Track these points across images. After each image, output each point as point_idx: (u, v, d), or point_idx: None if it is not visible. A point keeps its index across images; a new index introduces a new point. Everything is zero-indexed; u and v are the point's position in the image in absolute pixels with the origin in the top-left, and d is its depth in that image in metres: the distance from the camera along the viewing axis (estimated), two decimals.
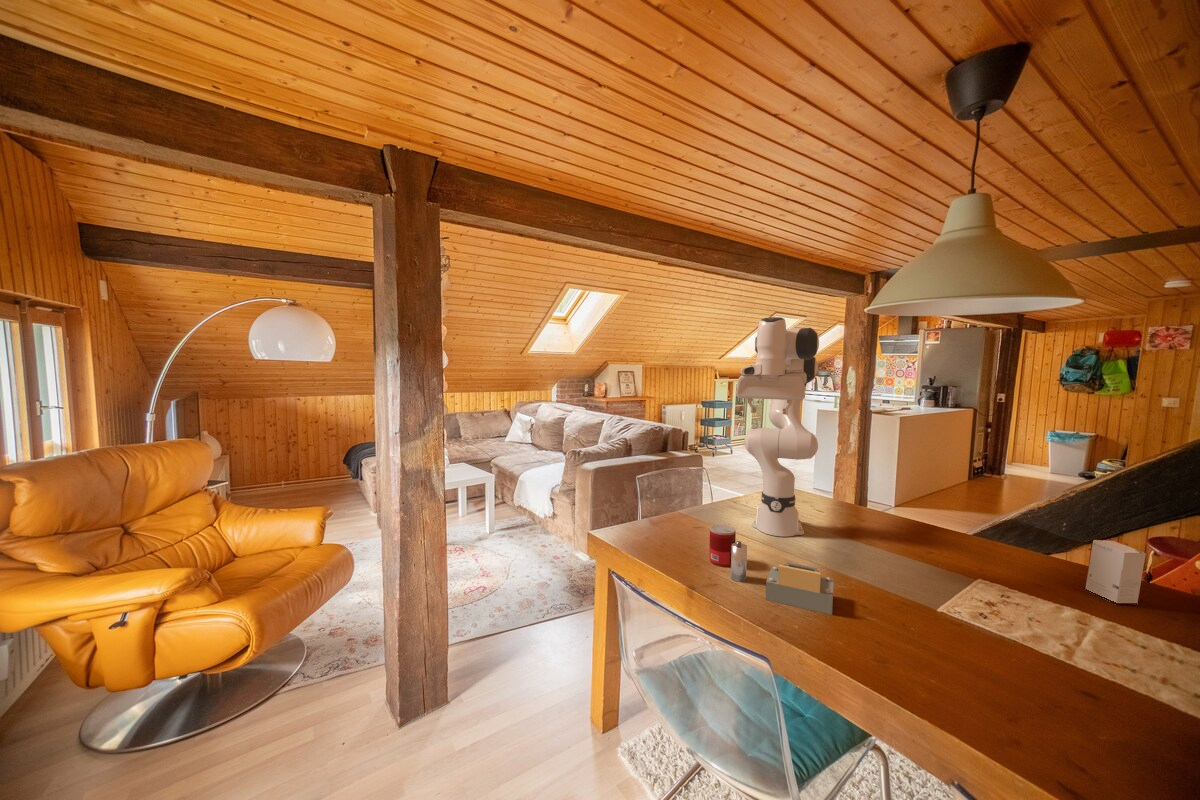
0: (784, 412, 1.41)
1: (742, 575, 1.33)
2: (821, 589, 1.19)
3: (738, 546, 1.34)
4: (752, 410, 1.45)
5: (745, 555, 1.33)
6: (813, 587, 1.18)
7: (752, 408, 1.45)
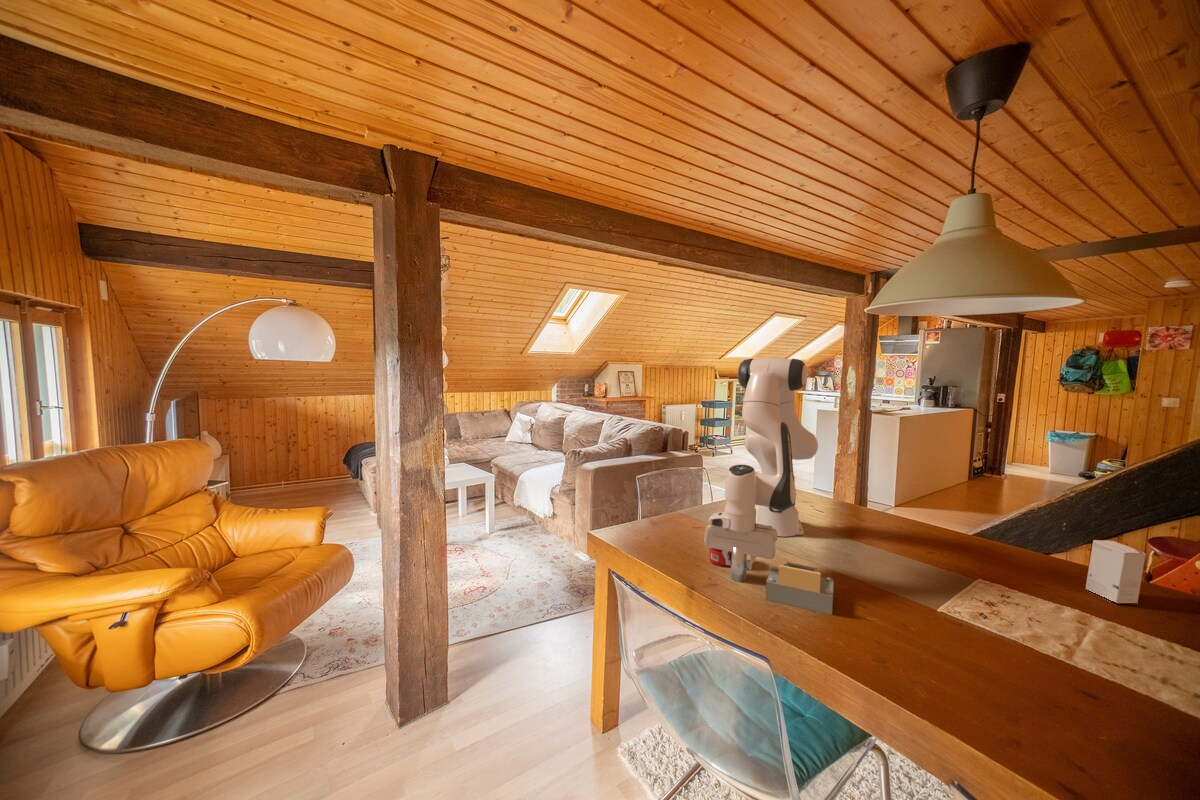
0: (747, 567, 1.33)
1: (742, 575, 1.33)
2: (821, 589, 1.19)
3: None
4: (727, 562, 1.36)
5: (745, 555, 1.33)
6: (813, 587, 1.18)
7: (727, 560, 1.36)
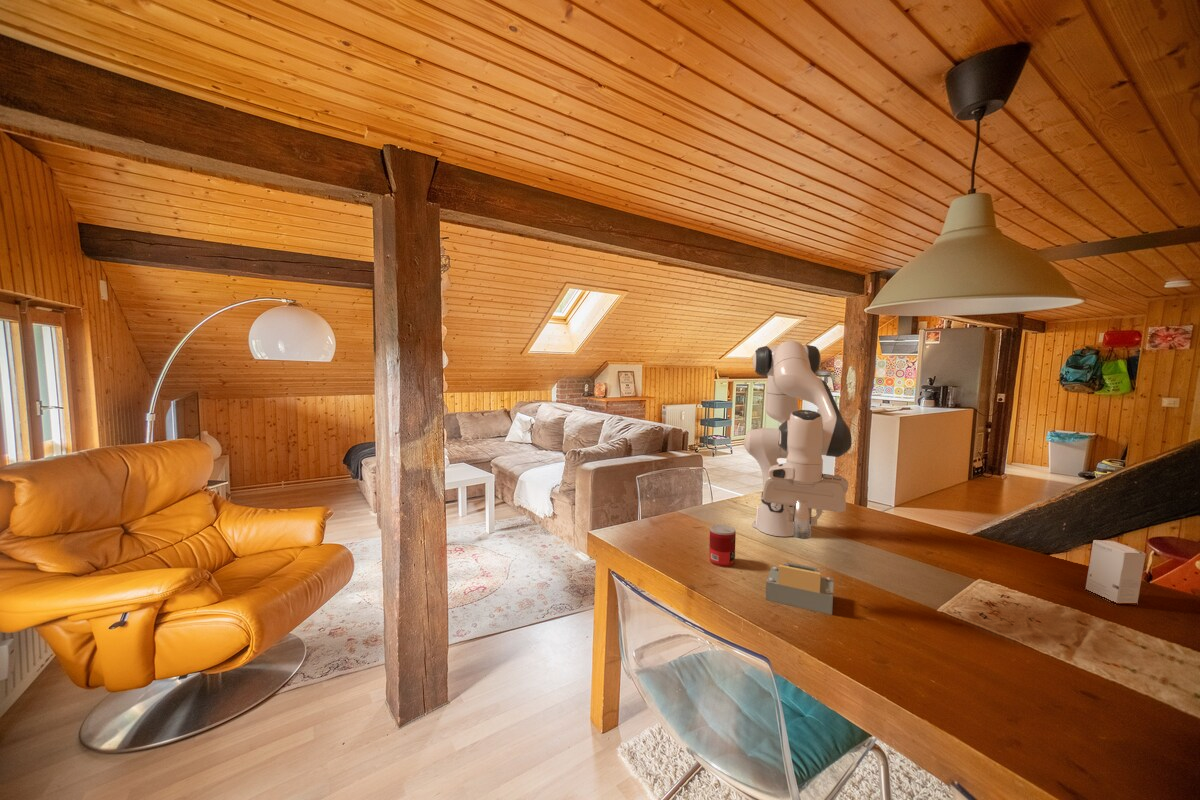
0: (813, 523, 1.20)
1: (807, 531, 1.20)
2: (821, 589, 1.19)
3: None
4: (789, 518, 1.23)
5: (810, 509, 1.20)
6: (813, 587, 1.18)
7: (789, 516, 1.23)
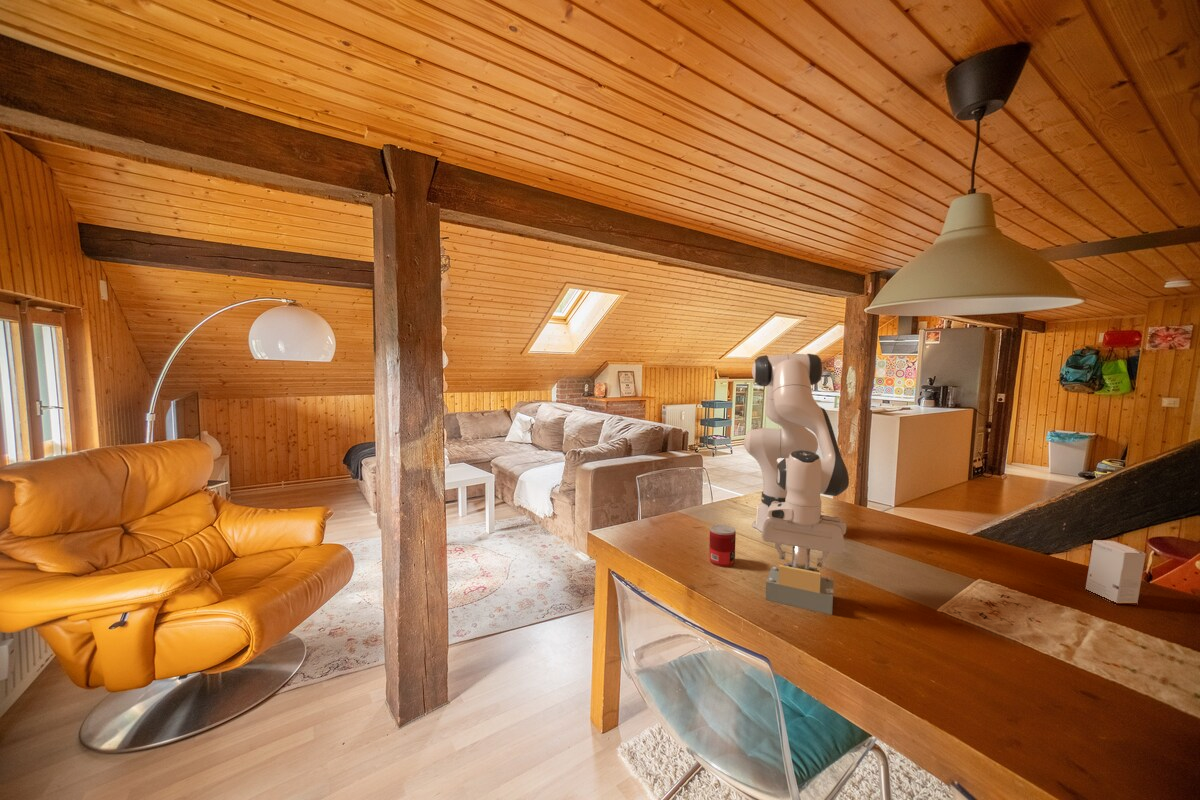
0: (819, 564, 1.21)
1: None
2: (821, 589, 1.19)
3: None
4: (781, 557, 1.25)
5: (809, 555, 1.22)
6: (813, 587, 1.18)
7: (781, 554, 1.25)
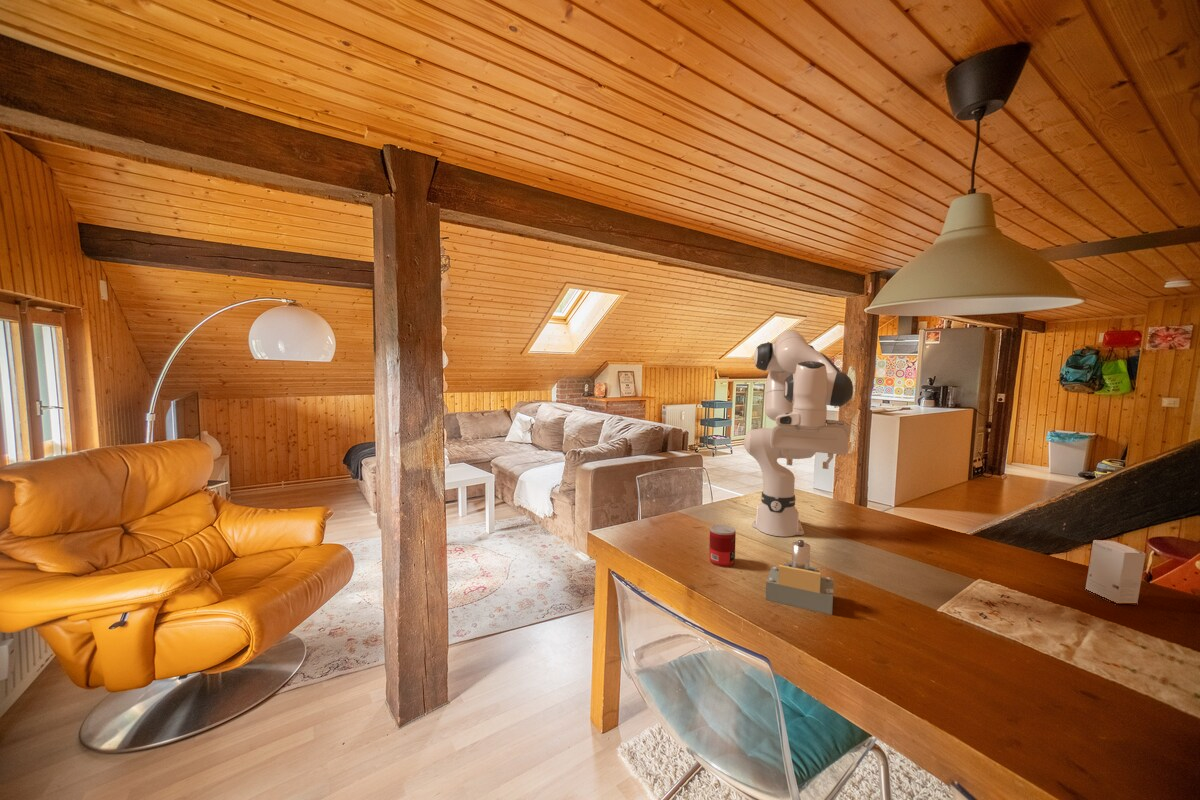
0: (824, 466, 1.28)
1: None
2: (821, 589, 1.19)
3: (800, 545, 1.22)
4: (788, 462, 1.33)
5: (808, 555, 1.21)
6: (813, 587, 1.18)
7: (788, 460, 1.33)
